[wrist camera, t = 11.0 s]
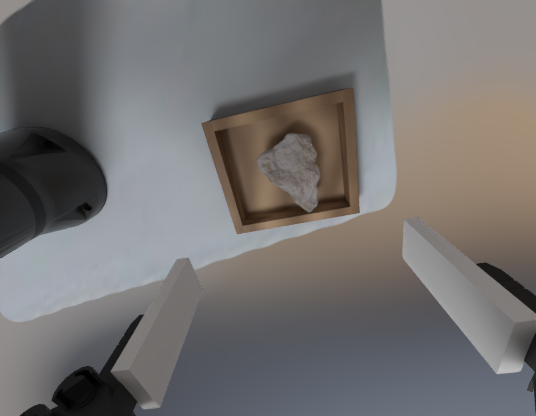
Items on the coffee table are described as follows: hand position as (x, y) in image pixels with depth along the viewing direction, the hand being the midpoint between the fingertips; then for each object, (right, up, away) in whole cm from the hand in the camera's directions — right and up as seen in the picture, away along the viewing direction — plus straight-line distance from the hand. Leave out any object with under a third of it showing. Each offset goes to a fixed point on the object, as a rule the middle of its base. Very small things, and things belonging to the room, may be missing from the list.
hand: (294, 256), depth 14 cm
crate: (+1, +9, +19) cm, 22 cm away
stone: (+2, +9, +19) cm, 21 cm away
